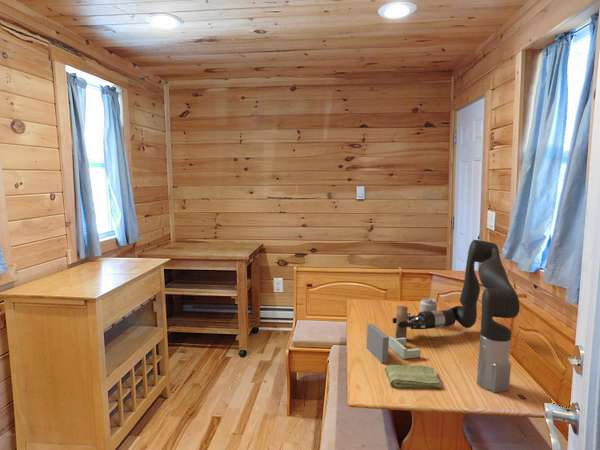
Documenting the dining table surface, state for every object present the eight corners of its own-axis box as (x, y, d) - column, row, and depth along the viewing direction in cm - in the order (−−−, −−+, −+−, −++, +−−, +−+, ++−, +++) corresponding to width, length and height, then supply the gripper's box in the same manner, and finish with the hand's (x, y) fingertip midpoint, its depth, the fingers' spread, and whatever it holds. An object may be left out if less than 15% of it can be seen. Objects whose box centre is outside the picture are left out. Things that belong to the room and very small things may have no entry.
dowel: (408, 340, 175) (409, 308, 173) (398, 341, 174) (400, 309, 172) (402, 336, 179) (404, 305, 178) (393, 337, 178) (395, 306, 176)
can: (436, 327, 190) (438, 302, 189) (419, 326, 192) (421, 301, 190) (434, 322, 198) (436, 297, 196) (418, 320, 199) (419, 296, 198)
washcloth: (443, 391, 136) (444, 381, 136) (390, 389, 136) (390, 380, 136) (432, 371, 149) (432, 363, 149) (383, 370, 149) (383, 362, 149)
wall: (387, 362, 155) (388, 337, 153) (381, 363, 154) (383, 337, 153) (371, 347, 168) (372, 323, 167) (366, 348, 167) (367, 324, 166)
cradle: (420, 357, 159) (420, 347, 159) (403, 358, 157) (403, 349, 157) (404, 344, 171) (405, 335, 170) (388, 346, 169) (389, 336, 168)
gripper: (422, 306, 186) (388, 308, 181) (441, 316, 172) (404, 320, 168) (421, 322, 187) (387, 325, 182) (440, 334, 173) (403, 337, 169)
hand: (395, 322), depth 175 cm, fingers closed on dowel, 4 cm apart
